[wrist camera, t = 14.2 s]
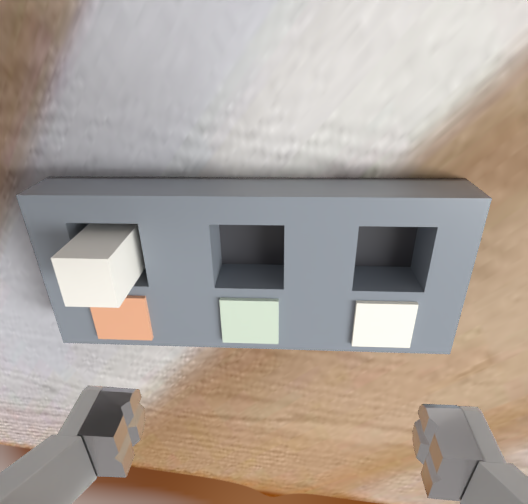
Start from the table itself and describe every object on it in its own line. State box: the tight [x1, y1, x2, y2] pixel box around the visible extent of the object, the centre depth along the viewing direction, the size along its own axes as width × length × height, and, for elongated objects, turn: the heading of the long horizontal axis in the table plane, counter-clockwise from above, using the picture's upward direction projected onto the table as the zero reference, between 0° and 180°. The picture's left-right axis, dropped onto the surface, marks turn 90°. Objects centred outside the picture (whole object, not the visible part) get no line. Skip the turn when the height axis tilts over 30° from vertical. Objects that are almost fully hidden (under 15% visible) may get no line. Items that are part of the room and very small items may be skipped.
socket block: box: [16, 177, 492, 354], centre depth 33 cm, size 14×34×5 cm, turn 91°
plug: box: [51, 223, 145, 308], centre depth 31 cm, size 4×4×8 cm
